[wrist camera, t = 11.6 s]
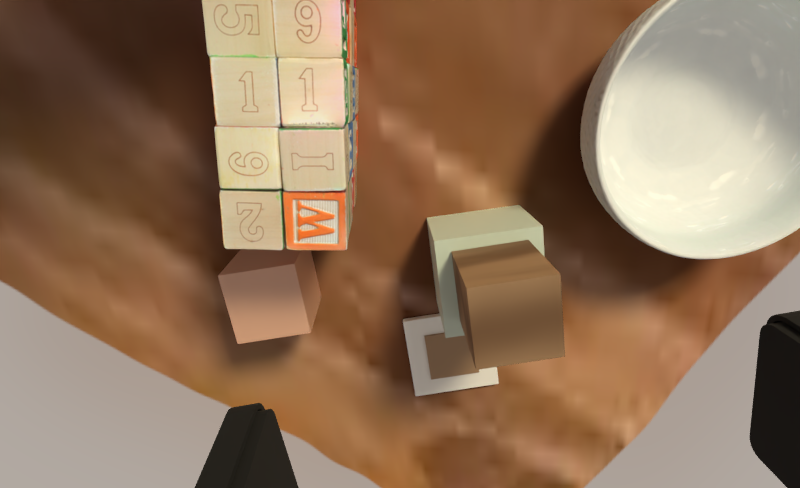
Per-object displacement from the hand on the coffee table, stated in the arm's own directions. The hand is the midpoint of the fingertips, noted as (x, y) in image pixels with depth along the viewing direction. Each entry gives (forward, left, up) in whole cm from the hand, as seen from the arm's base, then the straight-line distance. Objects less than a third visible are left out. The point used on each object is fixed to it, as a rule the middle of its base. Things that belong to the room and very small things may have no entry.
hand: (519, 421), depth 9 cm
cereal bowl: (-1, +19, -28) cm, 34 cm away
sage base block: (+7, +4, -28) cm, 29 cm away
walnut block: (+7, +4, -22) cm, 23 cm away
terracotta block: (+6, -11, -28) cm, 31 cm away
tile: (+15, +1, -28) cm, 32 cm away
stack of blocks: (-10, -6, -28) cm, 30 cm away
